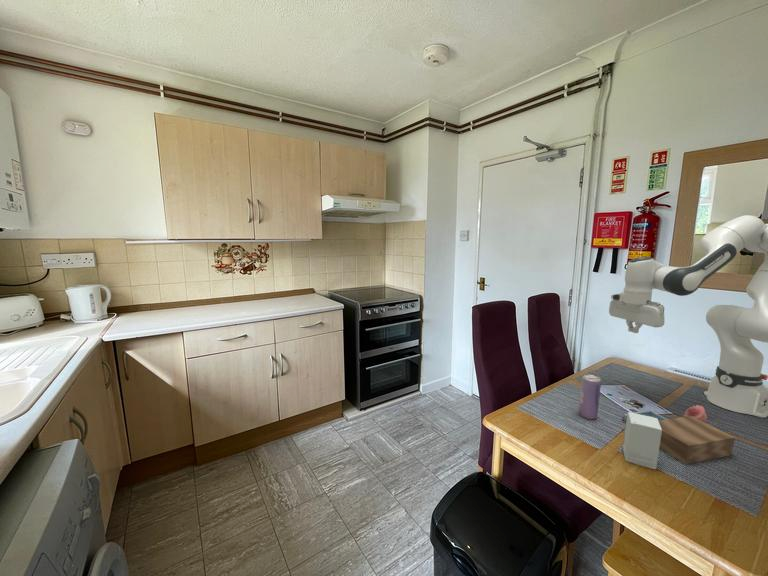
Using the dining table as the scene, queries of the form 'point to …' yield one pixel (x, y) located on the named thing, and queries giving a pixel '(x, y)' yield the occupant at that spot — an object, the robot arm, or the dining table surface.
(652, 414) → the grey-blue tray
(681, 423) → the cubby
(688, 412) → the flower
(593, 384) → the beverage can
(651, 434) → the supplement box
